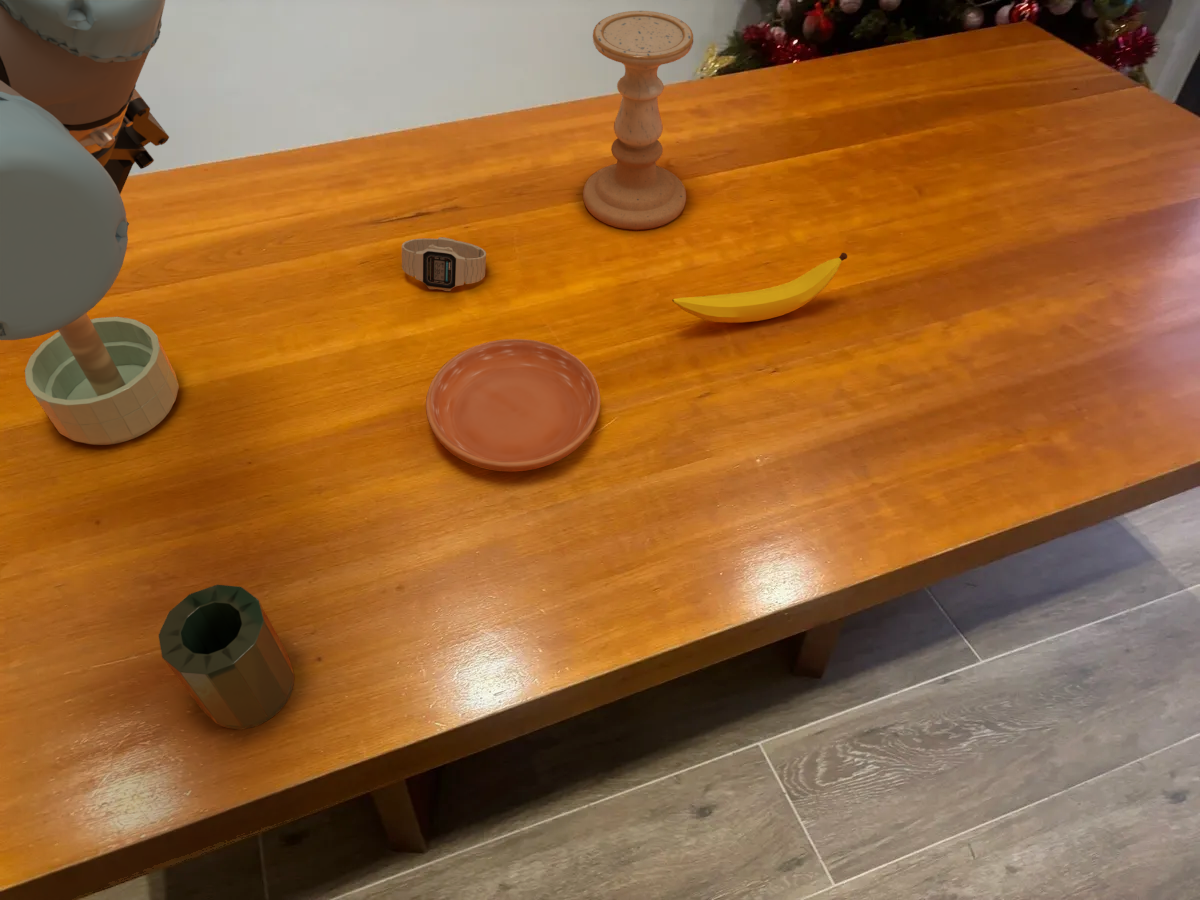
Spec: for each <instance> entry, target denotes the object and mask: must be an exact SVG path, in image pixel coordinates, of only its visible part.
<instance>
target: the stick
mask: <svg viewBox="0 0 1200 900" xmlns="http://www.w3.org/2000/svg"><path fill="white" fill-rule="evenodd" d="M57 331H58V332H60V334H61V336H62V337H63V339H64V341H65V342H66V344H67V346H68V347H69V349H70V351H71V352H72V354H73V356H74V357H75V359H76V361H77V362H78V364H79V366H80V367H81V369H82V371H83V373H84V374H85V376H86V378H87V379H88V381H89V383H90V384H91V386H92V388H93V389H94V391H95V393H96V394H97V396H101V395H104V394H108V393H110V392H112V391H114V390H116V389H118V388H120V387H122V386H124V385H126V384H125V382H124V380H123V378H122V376H121V375H120V373H119V371H118V369H117V367H116V366H115V364H114V362H113V360H112V358H111V356H110V355H109V353H108V351H107V349H106V347H105V346H104V344H103V342H102V340H101V338H100V337H99V335H98V333H97V331H96V329H95V327H94V326H93V324H92V322H91V318H90V317H89V314H88V312H87V313H85V314H84V315H83V316H81V317H80V318H78V319H77V320H75V321H73V322H72V323H70V324H68V325H66V326H64V327H62V328H61V329H58V330H57Z"/></svg>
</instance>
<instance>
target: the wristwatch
mask: <svg viewBox="0 0 1200 900" xmlns="http://www.w3.org/2000/svg"><path fill="white" fill-rule="evenodd" d="M486 264H487V252H486V250H485V249H483V248H482V247H480V246H478V245H475V244H472V243H469V242H466V241H461V240H456V239H453V238H449V237H441V236H440V237H438V238H414V239H409V240H406V241H404V242H403V243H402V244H401V268H402V270H403V272H404V273H405V274H407V275H408V276H411V277H413V278H414V279H415V280H416V281H417V280H418V281H420V282H422V283H423V284H424V285H425V286H426V287H427V289H429V290H431V291H433V290H440V291H441V290H442V291H444V292H451V291H452V289H454V288H456V287H458V286H459V287H460V286H464V284H465V285H470V284H475V283H478V282H481V281H482V280H484V278H485V276H486V266H487V265H486Z"/></svg>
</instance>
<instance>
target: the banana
mask: <svg viewBox="0 0 1200 900" xmlns="http://www.w3.org/2000/svg"><path fill="white" fill-rule="evenodd" d="M847 258H848V254H847V253H846V252H841V253H840V256H839V257H836V258H831V259H829V260H826V261H824V262H822V263H819V264H818V265H816V266H815V267H812V268H811V269H810V270H808V271H807V272H804V274H802V275H800V276H798V277H797V278H795V279H792V280H790V281H788V282H785V283H781V284H778V285H775V286H771V287H767V288H763V289H757V290H756V289H755V290H750V291H742V292H734V293H724V294H711V295H701V296H689V297H688V296H687V297H686V296H683V297H677V298H673V299H671V300H672V303H674V304H675V305H676V306H678V308H679V309H681V310H682V311H685V312H686V313H688V314H690V315H692V316H693V317H697V318H699V319H701V320H704V321H709V322H715V323H751V322H759V321H765V320H769V319H770V320H771V319H774V318H777V317H781V316H784V315H787V314H790V313H791V312H794V311H797V310H798V309H799V308H801V307H803V306H805V305H806V304H808V303H810V302H811V301H812V300H814V299H815V298H816V297H817V296H818V295H819V294H820V293H821V292H822V291H824V289H825V288H826V287H827V286H828V285H829V284H830V282H831V281H832V280H833V278H834V277H835V276H836V274H837V273H838V270H839V269H840V266H841V264H842V262H843V261H844V260H847Z"/></svg>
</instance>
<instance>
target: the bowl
mask: <svg viewBox="0 0 1200 900" xmlns="http://www.w3.org/2000/svg"><path fill="white" fill-rule="evenodd" d="M90 320H91V322H92V324H93V326H94V327H95V329H96V331H97V333H98V335H99V337H100V338H101V340H102V342H103V344H104V346H105V347H106V349H107V351H108V353H109V355H110V356H111V358H112V360H113V362H114V364H115V366H116V367H117V369H118V371H119V373H120V375H121V376H122V378H123V380H124V382H125V384H126V385H124V386H122V387H120V388H118V389H116V390H114V391H112V392H110V393H108V394H104V395H101V396H97V394H96V393H95V391H94V389H93V388H92V386H91V384H90V383H89V381H88V379H87V378H86V376H85V374H84V373H83V371H82V369H81V367H80V366H79V364H78V362H77V361H76V359H75V357H74V356H73V354H72V352H71V351H70V349H69V347H68V346H67V344H66V342H65V341H64V339H63V337H62V336H61V334H60V332H59V331H57V332H55V333H54V334H52V335H51V336H50V337H48V338H47V339H45V340H44V341H43V342H42V343H41V344H40V345H39V346H38V347H37V348H36V349H35V351H34V352H33V353H32V354H31V355H30V357H29V359H28V362H27V364H26V366H25V369H24V377H25V385H26V387H27V388H28V389H29V391H30V393H31V394H32V395H33V397H34V399H35V400H36V401H37V403H38V404H39V406H40V407H41V409H42V410H43V412H44V413H45V415H46V416H47V417H48V419H49V420H50V422H51V423H52V425H53V426H54V428H55V429H56V430H57V431H58V433H59V434H60V435H62V436H64V437H65V438H67V439H69V440H71V441H74V442H76V443H82V444H87V445H93V446H109V445H115V444H121V443H125V442H127V441H130V440H134V439H135V438H138V437H141V436H142V435H144V434H146V433H149V432H150V431H151V430H152V429H154V428H155V427H157V426H158V425H159V424H160V423H161V422H162V421H163V420H164V419H165V418H166V417H167V416H168V415H169V413H170V411H171V410H172V408H173V406H174V404H175V402H176V400H177V397H178V392H179V389H180V387H179V386H180V385H179V381H178V377H177V374H176V372H175V369H174V368H173V365H172V364H171V361H170V359H169V357H168V356H167V353H166V351H165V349H164V347H163V345H162V343H161V341H160V339H159V336H158V335H157V334H156V332H154V330H153V329H152V328H151V327H150V326H149V325H148V324H145V323H143V322H141V321H139V320H137V319H134V318H128V317H122V316H108V317H107V316H105V317H95V318H92V319H91V318H90Z"/></svg>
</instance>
